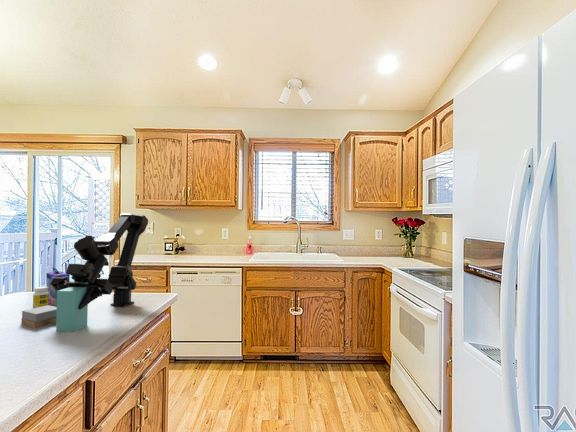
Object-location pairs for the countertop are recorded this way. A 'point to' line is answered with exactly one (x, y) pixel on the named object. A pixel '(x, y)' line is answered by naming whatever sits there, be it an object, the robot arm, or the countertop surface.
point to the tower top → (40, 313)
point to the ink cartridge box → (52, 292)
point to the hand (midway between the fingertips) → (69, 308)
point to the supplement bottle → (40, 297)
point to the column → (71, 309)
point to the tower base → (39, 323)
